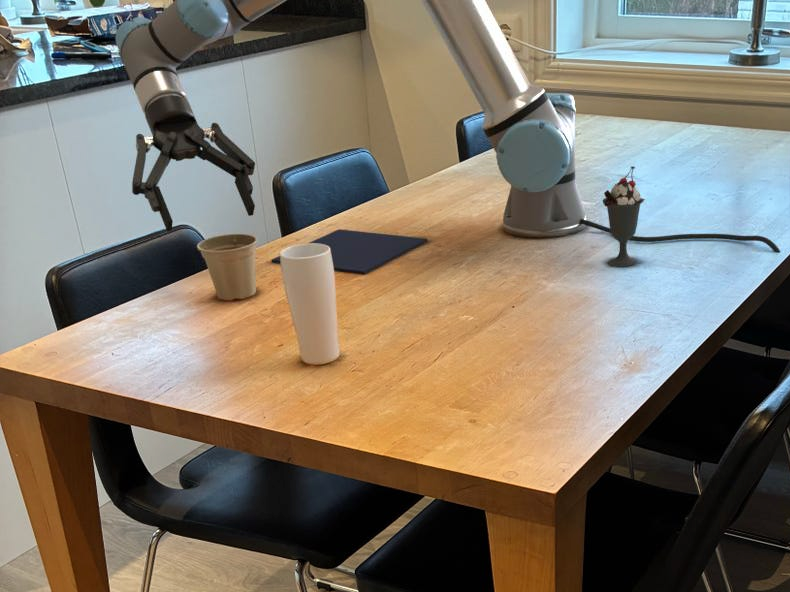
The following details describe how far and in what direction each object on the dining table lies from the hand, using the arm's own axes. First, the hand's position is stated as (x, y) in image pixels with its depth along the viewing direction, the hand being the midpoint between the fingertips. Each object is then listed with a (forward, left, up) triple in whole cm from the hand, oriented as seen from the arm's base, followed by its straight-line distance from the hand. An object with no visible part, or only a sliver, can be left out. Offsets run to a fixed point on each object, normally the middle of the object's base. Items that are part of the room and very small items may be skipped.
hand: (211, 218), depth 167 cm
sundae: (-57, -33, -11) cm, 67 cm away
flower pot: (-5, +3, -11) cm, 13 cm away
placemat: (-9, -23, -11) cm, 27 cm away
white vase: (-35, +20, -11) cm, 42 cm away
